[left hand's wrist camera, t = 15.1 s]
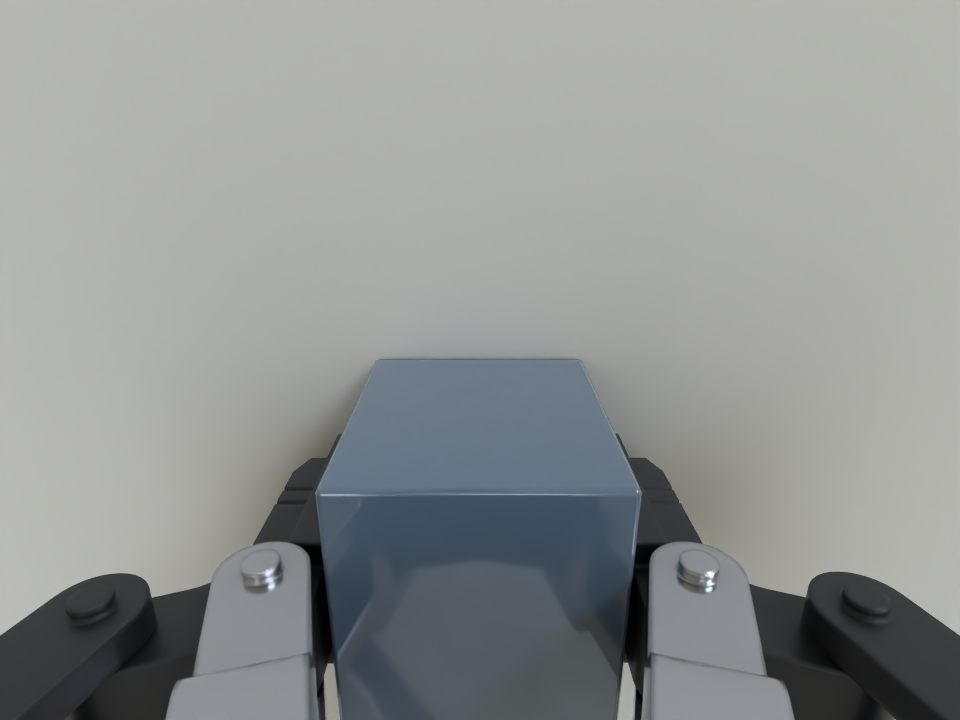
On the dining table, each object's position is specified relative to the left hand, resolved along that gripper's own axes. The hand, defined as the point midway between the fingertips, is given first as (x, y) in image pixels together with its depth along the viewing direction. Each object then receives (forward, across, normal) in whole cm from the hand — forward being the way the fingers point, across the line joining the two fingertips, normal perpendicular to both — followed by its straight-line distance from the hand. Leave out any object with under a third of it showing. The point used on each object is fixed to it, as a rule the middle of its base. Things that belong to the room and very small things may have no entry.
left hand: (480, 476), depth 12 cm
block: (+1, 0, 0) cm, 1 cm away
